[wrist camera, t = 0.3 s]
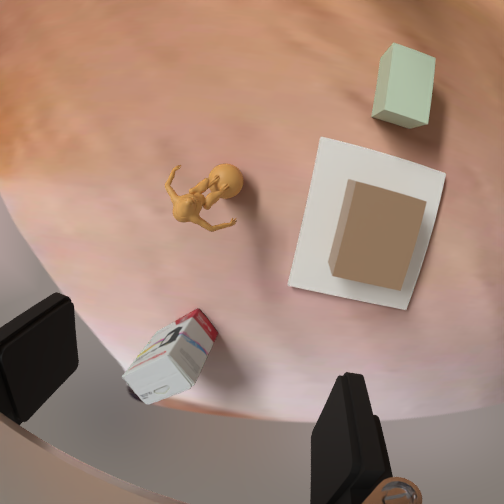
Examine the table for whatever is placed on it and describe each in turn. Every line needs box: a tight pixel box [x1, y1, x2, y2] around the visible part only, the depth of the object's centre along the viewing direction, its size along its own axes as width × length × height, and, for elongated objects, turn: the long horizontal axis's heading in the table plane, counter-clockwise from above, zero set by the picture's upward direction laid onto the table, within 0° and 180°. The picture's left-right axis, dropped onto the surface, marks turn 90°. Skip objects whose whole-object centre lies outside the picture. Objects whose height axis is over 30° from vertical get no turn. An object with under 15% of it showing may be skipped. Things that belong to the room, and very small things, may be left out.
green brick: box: [371, 43, 436, 129], centre depth 30 cm, size 8×5×6 cm, turn 169°
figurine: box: [165, 164, 243, 232], centre depth 32 cm, size 8×6×12 cm
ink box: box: [122, 309, 218, 404], centre depth 39 cm, size 9×5×12 cm, turn 124°
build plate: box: [288, 137, 446, 310], centre depth 34 cm, size 18×16×6 cm
